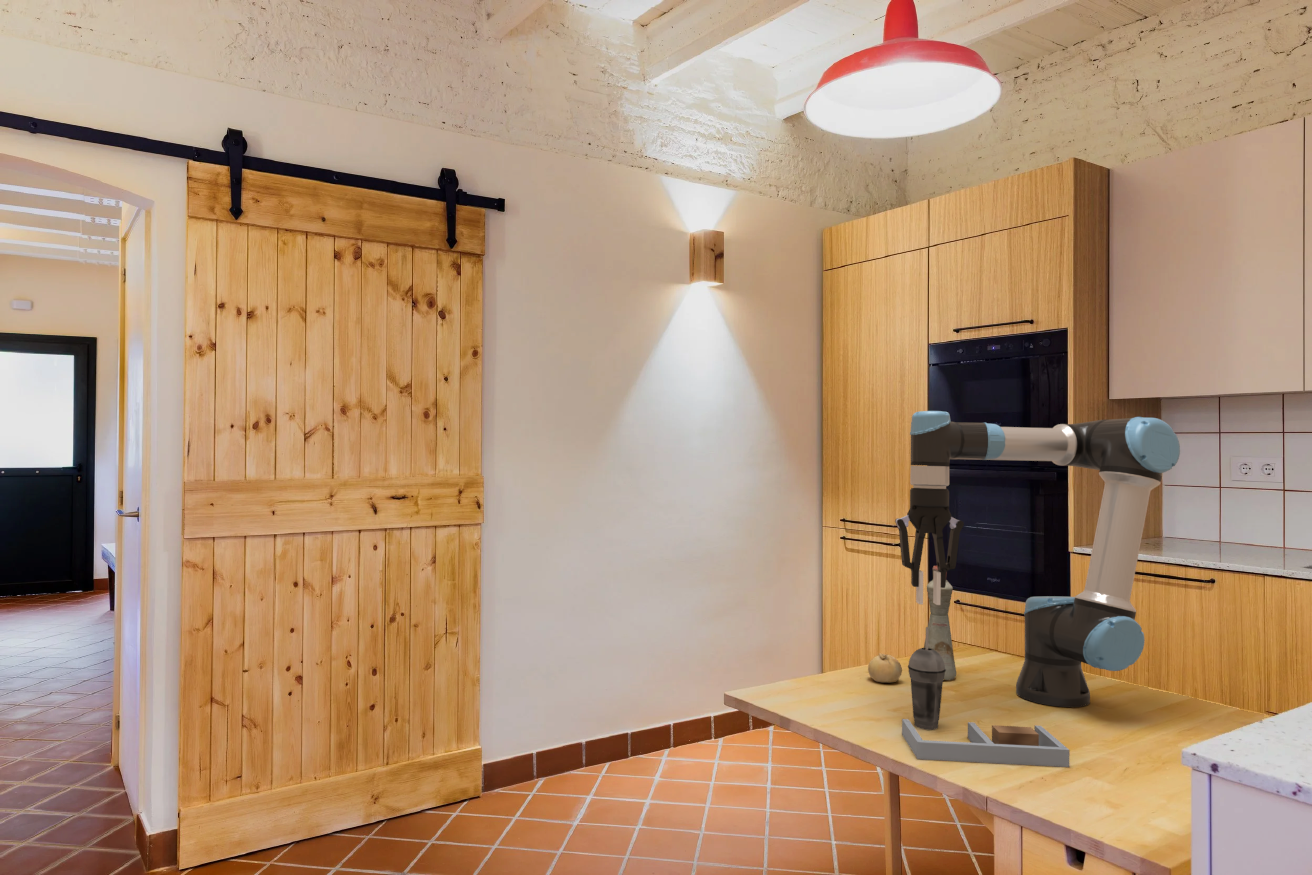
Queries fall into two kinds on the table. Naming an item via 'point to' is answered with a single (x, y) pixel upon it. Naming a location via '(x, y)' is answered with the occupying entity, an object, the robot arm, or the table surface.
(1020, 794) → the table surface
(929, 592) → the bottle
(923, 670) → the beverage cup
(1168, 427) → the robot arm
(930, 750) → the slot rack
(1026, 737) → the walnut bar
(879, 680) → the onion
